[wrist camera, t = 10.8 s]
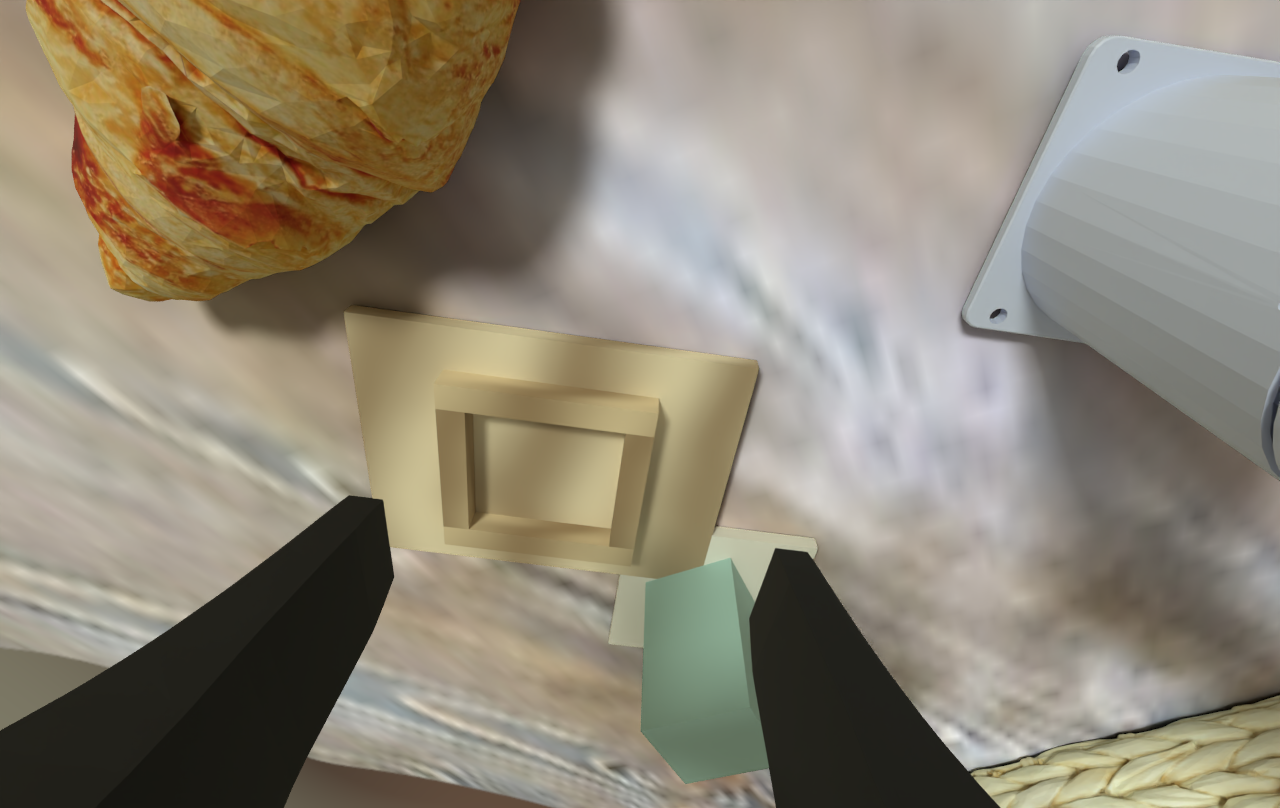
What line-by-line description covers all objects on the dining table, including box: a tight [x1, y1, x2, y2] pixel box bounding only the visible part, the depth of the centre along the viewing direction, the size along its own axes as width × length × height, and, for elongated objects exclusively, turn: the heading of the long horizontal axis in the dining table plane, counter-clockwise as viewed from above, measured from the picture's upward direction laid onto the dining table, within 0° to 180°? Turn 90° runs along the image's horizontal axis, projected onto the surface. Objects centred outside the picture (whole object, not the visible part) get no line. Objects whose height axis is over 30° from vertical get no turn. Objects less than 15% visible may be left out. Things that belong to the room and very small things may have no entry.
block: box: [641, 558, 769, 784], centre depth 23 cm, size 4×4×6 cm
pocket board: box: [343, 305, 759, 579], centre depth 22 cm, size 14×11×2 cm
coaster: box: [608, 526, 818, 648], centre depth 26 cm, size 8×8×1 cm
